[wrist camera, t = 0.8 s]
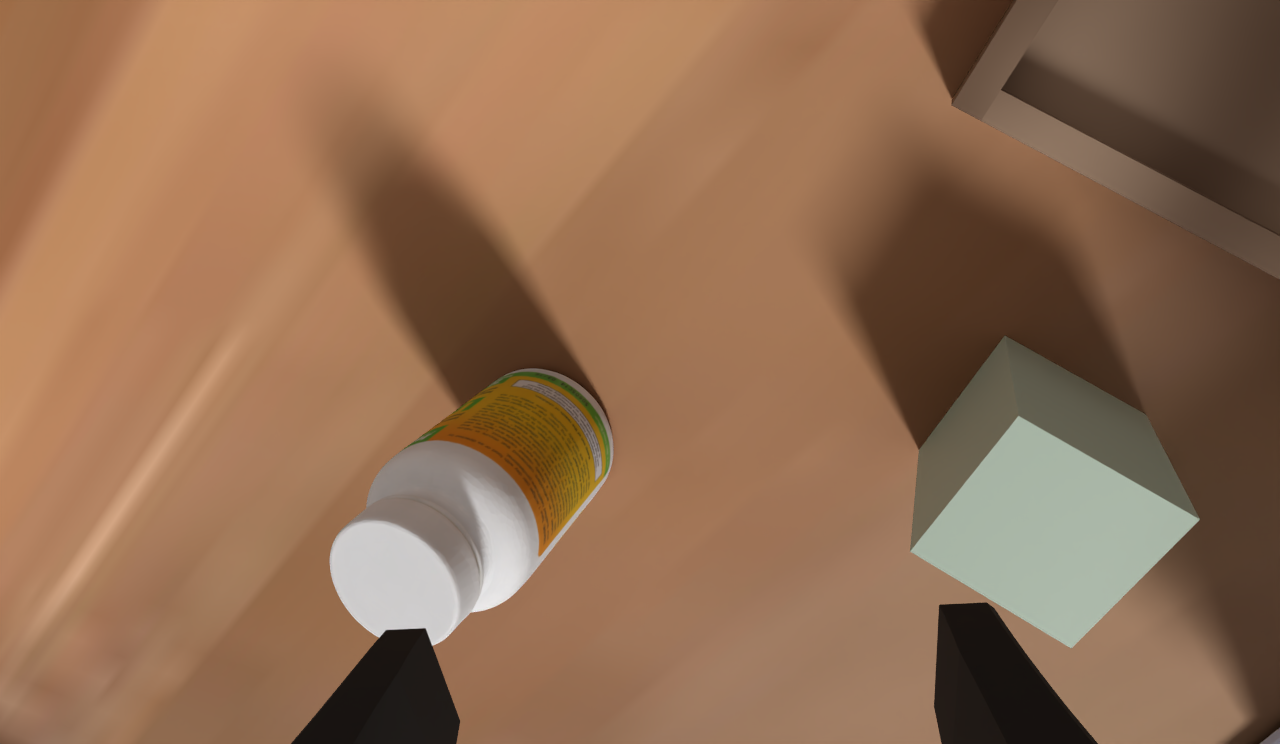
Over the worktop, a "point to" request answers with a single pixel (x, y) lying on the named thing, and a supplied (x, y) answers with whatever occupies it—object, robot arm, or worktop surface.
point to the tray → (1149, 106)
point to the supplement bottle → (473, 505)
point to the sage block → (1045, 494)
